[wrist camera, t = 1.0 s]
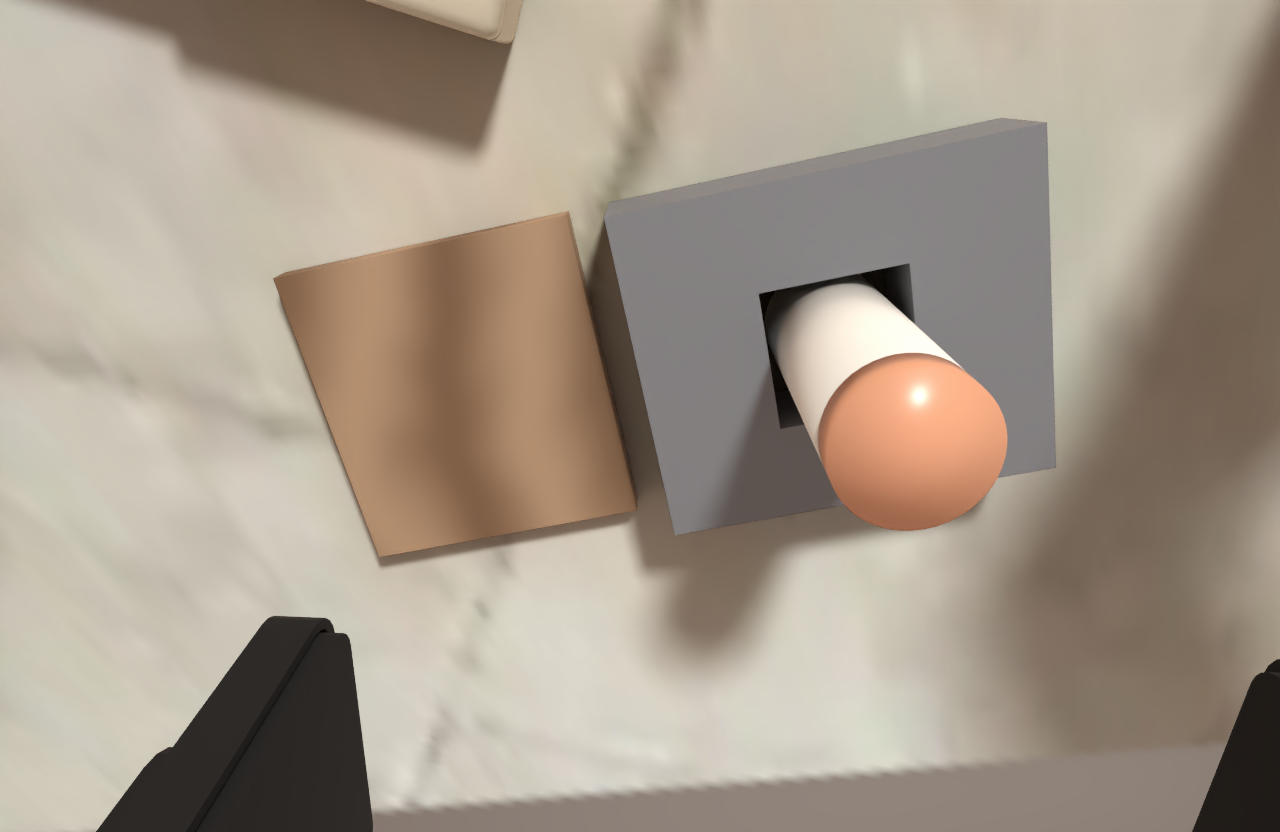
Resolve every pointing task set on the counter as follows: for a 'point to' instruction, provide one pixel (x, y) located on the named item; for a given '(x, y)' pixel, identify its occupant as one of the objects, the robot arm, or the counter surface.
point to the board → (464, 384)
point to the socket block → (821, 250)
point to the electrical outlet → (465, 15)
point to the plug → (884, 405)
